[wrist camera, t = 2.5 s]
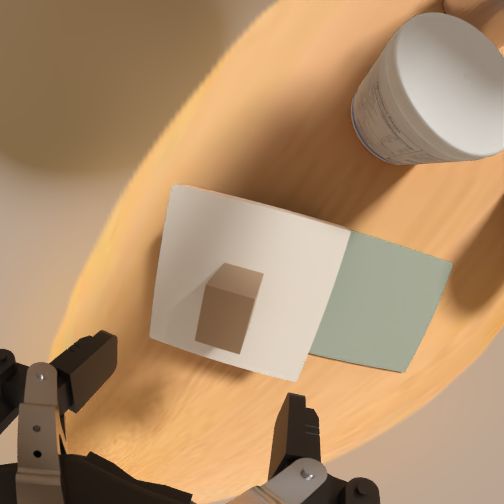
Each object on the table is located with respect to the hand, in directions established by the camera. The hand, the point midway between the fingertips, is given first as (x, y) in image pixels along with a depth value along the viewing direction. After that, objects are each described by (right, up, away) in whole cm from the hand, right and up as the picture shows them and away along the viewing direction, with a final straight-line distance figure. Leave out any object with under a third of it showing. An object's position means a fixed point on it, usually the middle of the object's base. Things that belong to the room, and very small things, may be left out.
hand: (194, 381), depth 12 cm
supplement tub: (+16, +19, +13) cm, 28 cm away
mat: (+16, 0, +18) cm, 24 cm away
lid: (+2, +3, +13) cm, 13 cm away
